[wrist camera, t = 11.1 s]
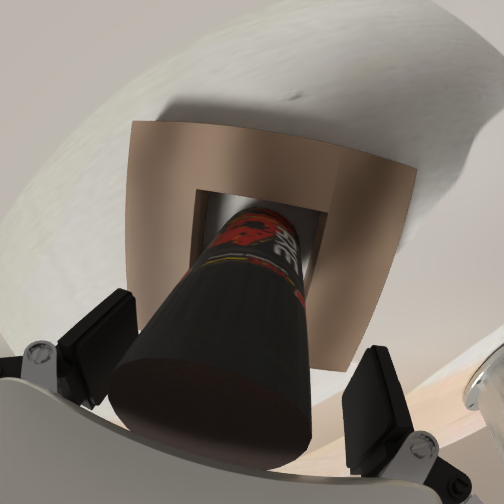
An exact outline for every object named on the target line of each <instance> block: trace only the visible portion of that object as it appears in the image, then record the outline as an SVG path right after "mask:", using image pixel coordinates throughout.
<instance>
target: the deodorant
mask: <svg viewBox="0 0 504 504" xmlns="http://www.w3.org/2000/svg"><path fill="white" fill-rule="evenodd" d="M107 392H108V399H109V401H110V403H111V405H112V407H113V409H114V411H115V413H116V415H117V416H118V417H119V419H120V420H121V421H122V422H123V423H124V425H125V426H126V427H127V428H128V429H129V430H130V431H131V432H133V433H136V434H138V435H141V436H143V437H145V438H148V439H151V440H153V441H156V442H158V443H161V444H164V445H167V446H170V447H172V448H175V449H178V450H182V451H185V452H188V453H191V454H194V455H198V456H201V457H205V458H209V459H212V460H216V461H220V462H225V463H229V464H233V465H238V466H243V467H248V468H253V469H259V470H265V471H266V470H270V469H274V468H278V467H281V466H284V465H286V464H288V463H290V462H292V461H294V460H296V459H297V458H298V457H299V456H300V455H302V454H303V453H304V452H305V451H306V450H307V448H308V445H309V443H310V441H311V439H312V416H311V386H310V365H309V347H308V332H307V318H306V306H305V294H304V283H303V272H302V262H301V253H300V245H299V239H298V235H297V233H296V231H295V229H294V227H293V225H292V224H291V223H290V222H289V221H288V220H287V218H285V217H284V216H282V215H281V214H279V213H278V212H276V211H273V210H270V209H267V208H251V209H246V210H243V211H241V212H239V213H237V214H235V215H234V216H233V217H232V218H231V219H230V220H229V221H227V223H226V224H225V225H224V226H223V228H222V229H221V230H220V231H219V232H218V234H217V235H216V236H215V237H214V239H213V240H212V241H211V242H210V243H209V245H208V246H207V247H206V248H205V250H204V251H203V252H202V253H201V255H200V256H199V257H198V258H197V260H196V261H195V262H194V263H193V265H192V266H191V267H190V268H189V270H188V271H187V272H186V274H185V275H184V276H183V277H182V279H181V280H180V281H179V282H178V284H177V285H176V286H175V288H174V289H173V290H172V292H171V293H170V294H169V295H168V297H167V298H166V299H165V301H164V302H163V303H162V305H161V306H160V307H159V309H158V310H157V311H156V312H155V314H154V315H153V316H152V318H151V319H150V320H149V322H148V323H147V324H146V326H145V327H144V328H143V330H142V331H141V333H140V334H139V335H138V337H137V338H136V339H135V341H134V342H133V343H132V345H131V346H130V348H129V349H128V350H127V352H126V353H125V354H124V356H123V357H122V359H121V360H120V361H119V363H118V364H117V366H116V367H115V368H114V370H113V371H112V373H111V375H110V378H109V381H108V383H107Z"/></svg>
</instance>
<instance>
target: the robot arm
mask: <svg viewBox="0 0 504 504" xmlns="http://www.w3.org/2000/svg"><path fill="white" fill-rule="evenodd" d="M138 335H139V334H138V323H137V311H136V298H135V297H134V296H133V294H132V292H130V291H127V290H124V289H121V288H118V289H117V290H115V291H114V292H113V293H112V294H111V295H110V296H108V297H107V298H106V299H105V300H104V301H102V302H101V303H100V304H99V305H98V306H97V307H95V308H94V309H93V310H92V311H91V312H90V313H88V314H87V315H86V316H85V317H84V318H83V319H82V320H80V321H79V322H78V323H77V324H76V325H75V326H74V327H73V328H71V329H70V330H69V331H68V332H67V333H66V334H65V335H64V336H63V337H61V338H60V339H59V340H58V341H57V342H58V344H57V345H56V346H54V345H53V344H52V343H51V342H48V341H42V340H40V341H35V342H33V343H31V344H30V345H28V346H27V348H26V349H25V351H24V354H23V356H16V357H6V358H0V504H483V503H482V501H481V500H480V499H479V498H478V496H477V495H476V494H475V493H474V494H473V495H471V490H472V484H471V480H470V479H469V477H468V476H466V474H464V473H463V472H461V471H459V470H458V469H456V468H455V467H454V466H452V465H451V464H449V463H448V462H446V461H445V460H443V459H442V458H440V457H439V456H438V452H439V445H438V442H437V440H436V439H435V437H434V436H432V435H431V434H430V433H428V432H425V431H415V432H414V428H413V424H412V421H411V417H410V414H409V410H408V407H407V403H406V400H405V397H404V394H403V391H402V388H401V384H400V382H399V380H398V377H397V374H396V371H395V368H394V365H393V363H392V360H391V357H390V354H389V352H388V349H387V347H385V346H377V345H372V346H371V348H367V350H366V351H365V353H364V355H363V357H362V359H361V361H360V363H359V365H358V367H357V369H356V370H355V372H354V374H353V376H352V378H351V380H350V382H349V384H348V385H347V387H346V389H345V391H344V393H343V395H342V409H343V420H344V432H345V449H346V466H347V468H350V475H361V477H356V478H355V477H323V476H308V475H296V474H287V473H279V472H272V471H265V470H259V469H253V468H248V467H243V466H238V465H233V464H229V463H225V462H220V461H216V460H212V459H209V458H205V457H201V456H198V455H194V454H191V453H188V452H185V451H182V450H178V449H175V448H172V447H170V446H167V445H164V444H161V443H158V442H156V441H153V440H151V439H148V438H145V437H143V436H141V435H138V434H136V433H133V432H131V431H129V430H126V429H124V428H122V427H120V426H118V425H116V424H113V423H111V422H109V421H107V420H105V419H103V418H101V417H99V416H97V415H95V414H93V413H91V412H90V411H88V410H86V409H84V408H82V407H80V405H83V406H85V407H87V408H88V409H90V410H93V408H94V407H95V406H96V405H97V406H98V405H100V404H101V402H102V401H103V400H104V398H105V397H106V396H107V394H108V392H107V383H108V381H109V378H110V375H111V373H112V371H113V370H114V368H115V367H116V366H117V364H118V363H119V361H120V360H121V359H122V357H123V356H124V354H125V353H126V352H127V350H128V349H129V348H130V346H131V345H132V343H133V342H134V341H135V339H136V338H137V337H138ZM463 402H464V404H465V407H466V408H467V409H468V410H473V411H475V410H480V412H481V414H482V416H483V418H484V420H485V422H486V425H487V427H488V429H489V431H490V434H491V436H492V438H493V441H494V443H495V446H496V448H497V451H498V453H499V456H500V459H501V461H502V464H503V467H504V345H503V346H502V347H501V348H500V349H498V350H497V351H496V352H495V353H494V354H493V355H492V356H491V357H490V358H489V359H488V360H487V361H486V362H485V363H484V364H483V365H482V366H481V367H480V369H479V370H478V371H477V372H476V374H475V375H474V376H473V378H472V379H471V381H470V382H469V384H468V386H467V388H466V390H465V392H464V396H463Z"/></svg>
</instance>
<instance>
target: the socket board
mask: <svg viewBox="0 0 504 504" xmlns="http://www.w3.org/2000/svg"><path fill="white" fill-rule="evenodd" d="M416 173H417V169H416V168H413V167H410V166H407V165H404V164H401V163H398V162H395V161H392V160H389V159H386V158H382V157H379V156H376V155H372V154H369V153H365V152H362V151H358V150H354V149H350V148H346V147H342V146H338V145H334V144H330V143H326V142H321V141H317V140H312V139H307V138H302V137H297V136H292V135H286V134H281V133H275V132H269V131H262V130H255V129H248V128H241V127H232V126H223V125H213V124H202V123H188V122H169V121H132V129H131V137H130V146H129V157H128V169H127V184H126V209H125V251H126V277H127V291H130V292H132V294H133V296H134V297H135V298H136V311H137V323H138V330H141V331H142V330H143V328H144V327H145V326H146V324H147V323H148V322H149V320H150V319H151V318H152V316H153V315H154V314H155V312H156V311H157V310H158V309H159V307H160V306H161V305H162V303H163V302H164V301H165V299H166V298H167V297H168V295H169V294H170V293H171V292H172V290H173V289H174V288H175V286H176V285H177V284H178V282H179V281H180V280H181V279H182V277H183V276H184V275H185V274H186V272H187V271H188V270H189V268H190V267H191V266H192V265H193V263H194V262H195V261H196V260H197V258H198V257H199V256H200V255H201V253H202V246H203V236H204V226H205V217H206V208H207V199H208V191H213V192H220V193H226V194H232V195H238V196H244V197H250V198H256V199H261V200H267V201H272V202H278V203H283V204H288V205H293V206H298V207H303V208H308V209H313V210H318V211H321V213H320V217H319V222H318V226H317V230H316V235H315V239H314V243H313V247H312V251H311V255H310V259H309V263H308V267H307V271H306V275H305V279H304V294H305V306H306V318H307V332H308V347H309V365H310V368H312V369H320V370H329V371H338V372H346V371H347V369H348V367H349V365H350V363H351V361H352V359H353V357H354V355H355V353H356V351H357V349H358V346H359V344H360V342H361V340H362V338H363V336H364V333H365V331H366V329H367V327H368V324H369V322H370V320H371V317H372V315H373V312H374V310H375V308H376V305H377V303H378V300H379V298H380V295H381V292H382V290H383V287H384V284H385V281H386V279H387V276H388V273H389V270H390V268H391V264H392V262H393V258H394V256H395V253H396V249H397V246H398V243H399V240H400V236H401V233H402V230H403V226H404V223H405V219H406V215H407V211H408V208H409V204H410V200H411V195H412V191H413V187H414V182H415V178H416Z"/></svg>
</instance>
